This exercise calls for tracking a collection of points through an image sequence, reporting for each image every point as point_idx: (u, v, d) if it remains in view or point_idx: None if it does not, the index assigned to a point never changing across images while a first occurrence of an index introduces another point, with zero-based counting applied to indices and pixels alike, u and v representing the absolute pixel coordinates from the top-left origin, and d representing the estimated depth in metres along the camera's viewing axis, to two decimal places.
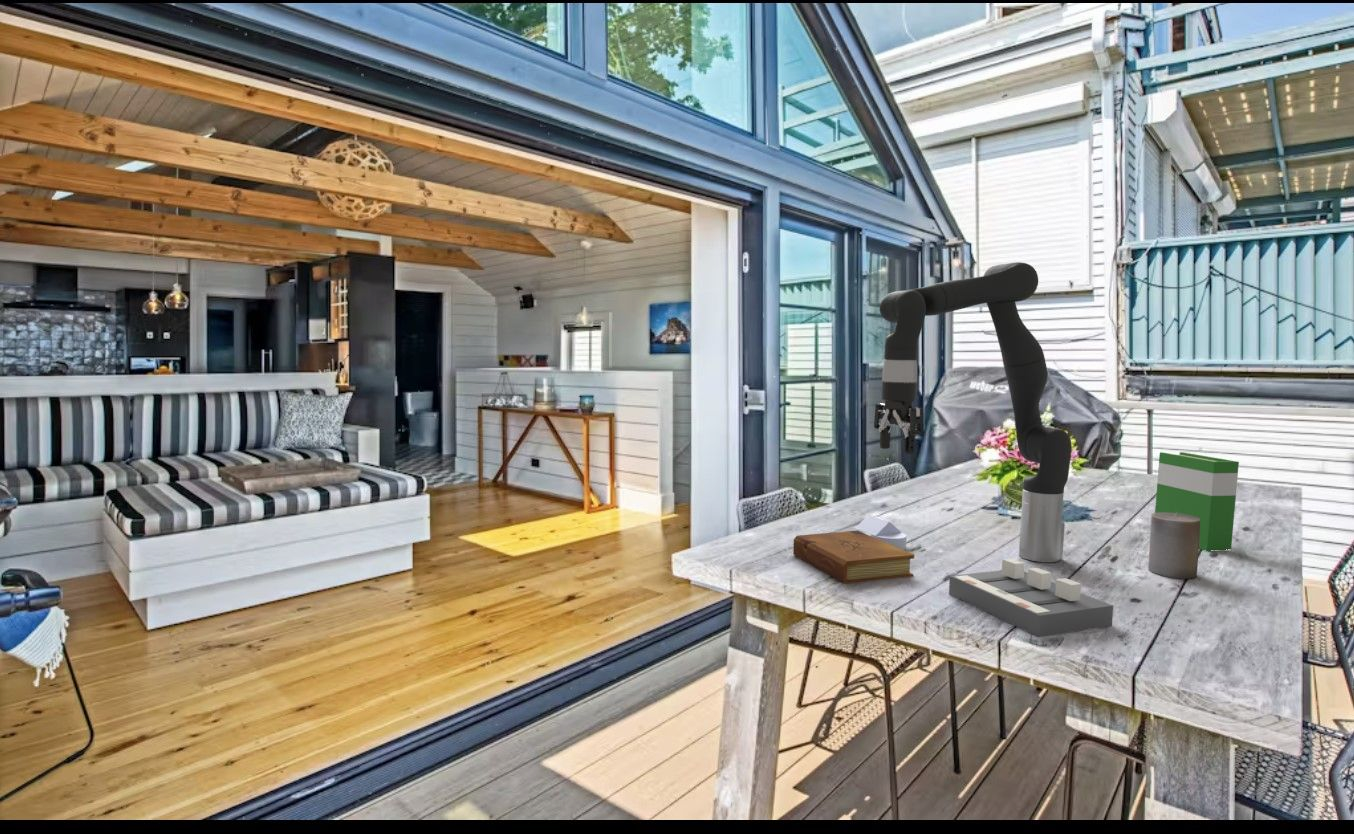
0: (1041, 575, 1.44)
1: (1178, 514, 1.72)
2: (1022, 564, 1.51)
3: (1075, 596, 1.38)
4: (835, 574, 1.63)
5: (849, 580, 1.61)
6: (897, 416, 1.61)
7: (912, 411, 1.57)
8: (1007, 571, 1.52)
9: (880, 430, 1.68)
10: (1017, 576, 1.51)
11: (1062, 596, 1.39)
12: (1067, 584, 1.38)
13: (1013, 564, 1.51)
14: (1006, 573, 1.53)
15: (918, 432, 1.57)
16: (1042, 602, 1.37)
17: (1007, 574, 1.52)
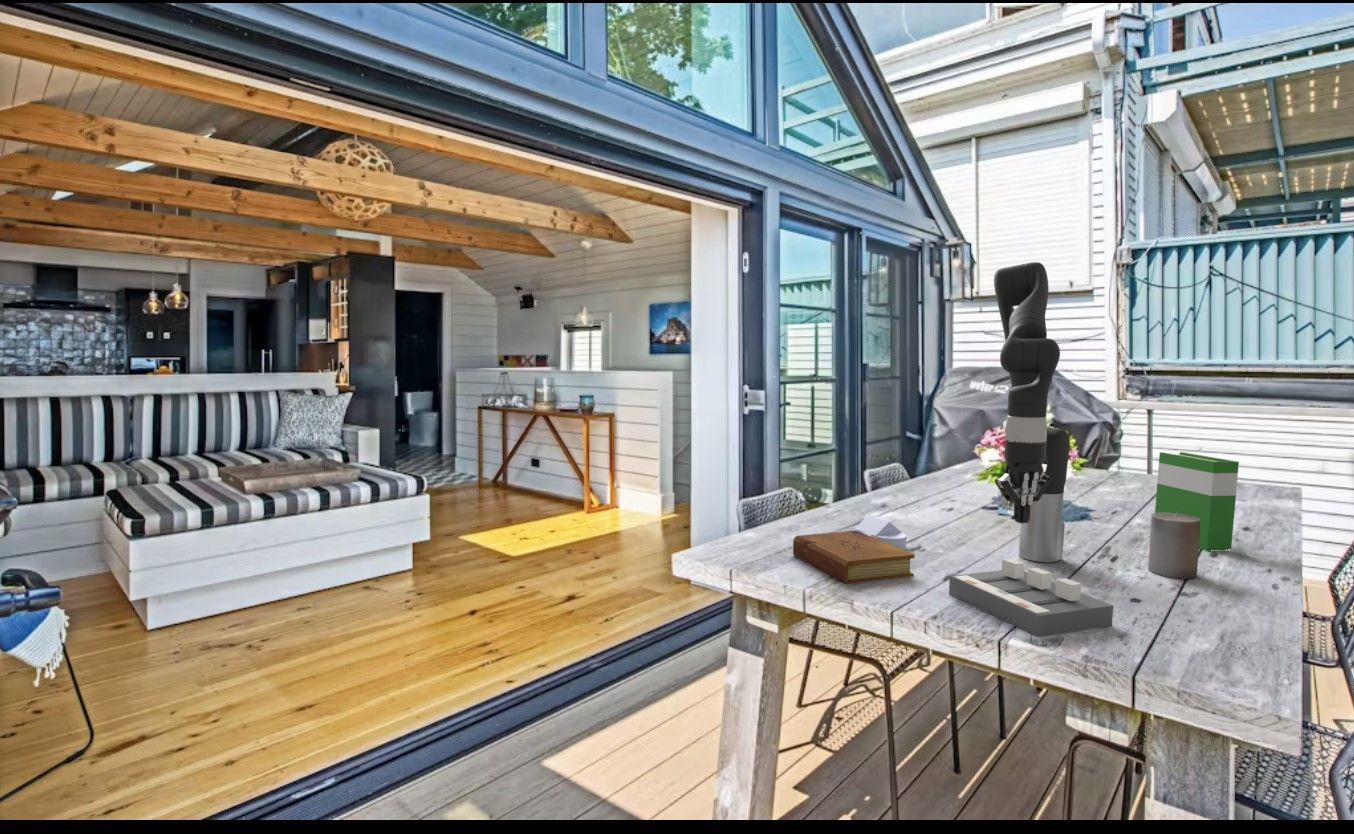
0: (1041, 575, 1.44)
1: (1178, 514, 1.72)
2: (1022, 564, 1.51)
3: (1075, 596, 1.38)
4: (836, 574, 1.63)
5: (850, 580, 1.61)
6: (1035, 480, 1.44)
7: (1050, 480, 1.46)
8: (1007, 571, 1.52)
9: (1025, 502, 1.45)
10: (1017, 576, 1.51)
11: (1062, 596, 1.39)
12: (1067, 584, 1.38)
13: (1013, 564, 1.51)
14: (1006, 573, 1.53)
15: None
16: (1042, 602, 1.37)
17: (1007, 574, 1.52)
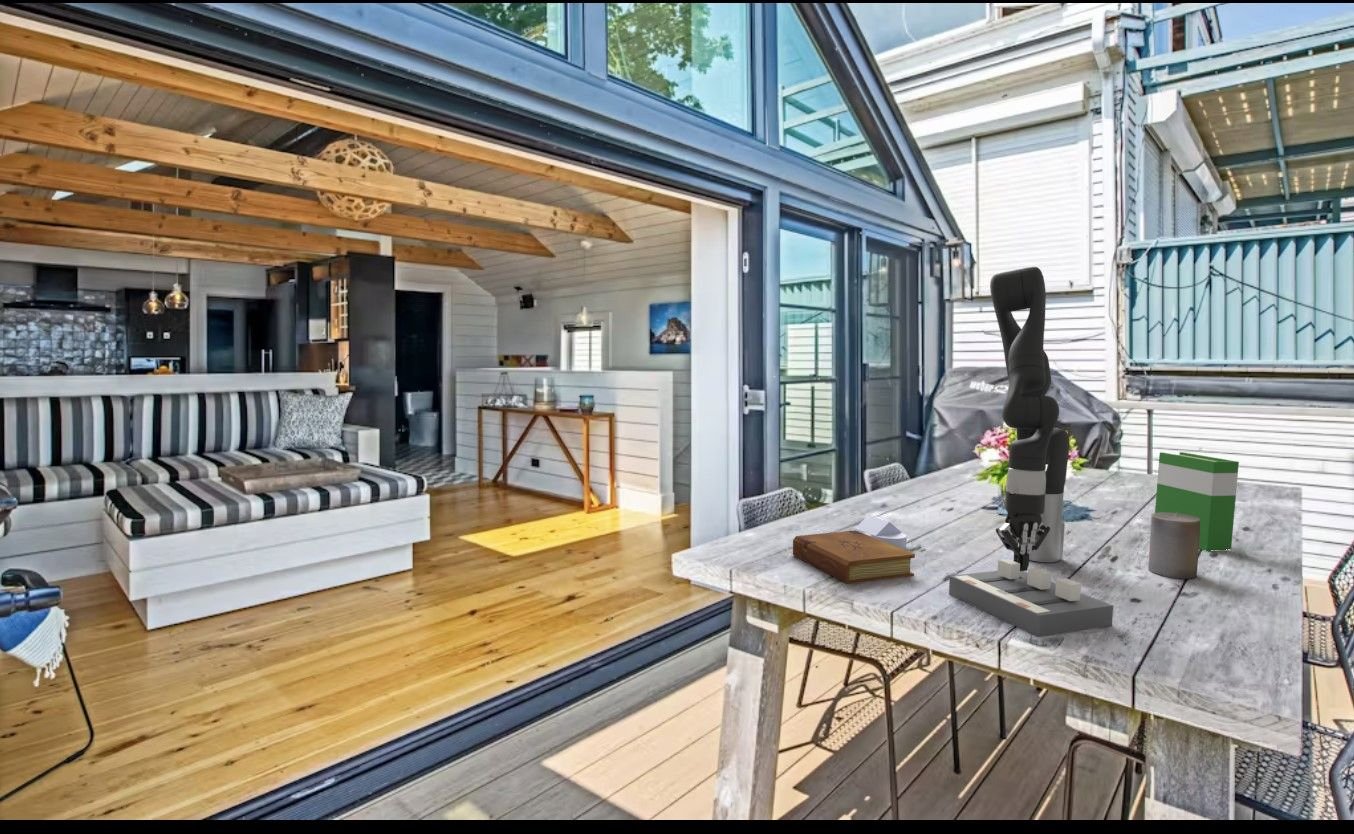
0: (1041, 575, 1.44)
1: (1178, 514, 1.72)
2: (1018, 564, 1.51)
3: (1075, 596, 1.38)
4: (836, 575, 1.63)
5: (851, 580, 1.61)
6: (1034, 530, 1.51)
7: (1048, 530, 1.53)
8: (1003, 572, 1.52)
9: (1024, 551, 1.51)
10: (1013, 576, 1.50)
11: (1062, 596, 1.39)
12: (1067, 584, 1.38)
13: (1008, 564, 1.50)
14: (1002, 573, 1.52)
15: None
16: (1042, 602, 1.37)
17: (1003, 574, 1.52)
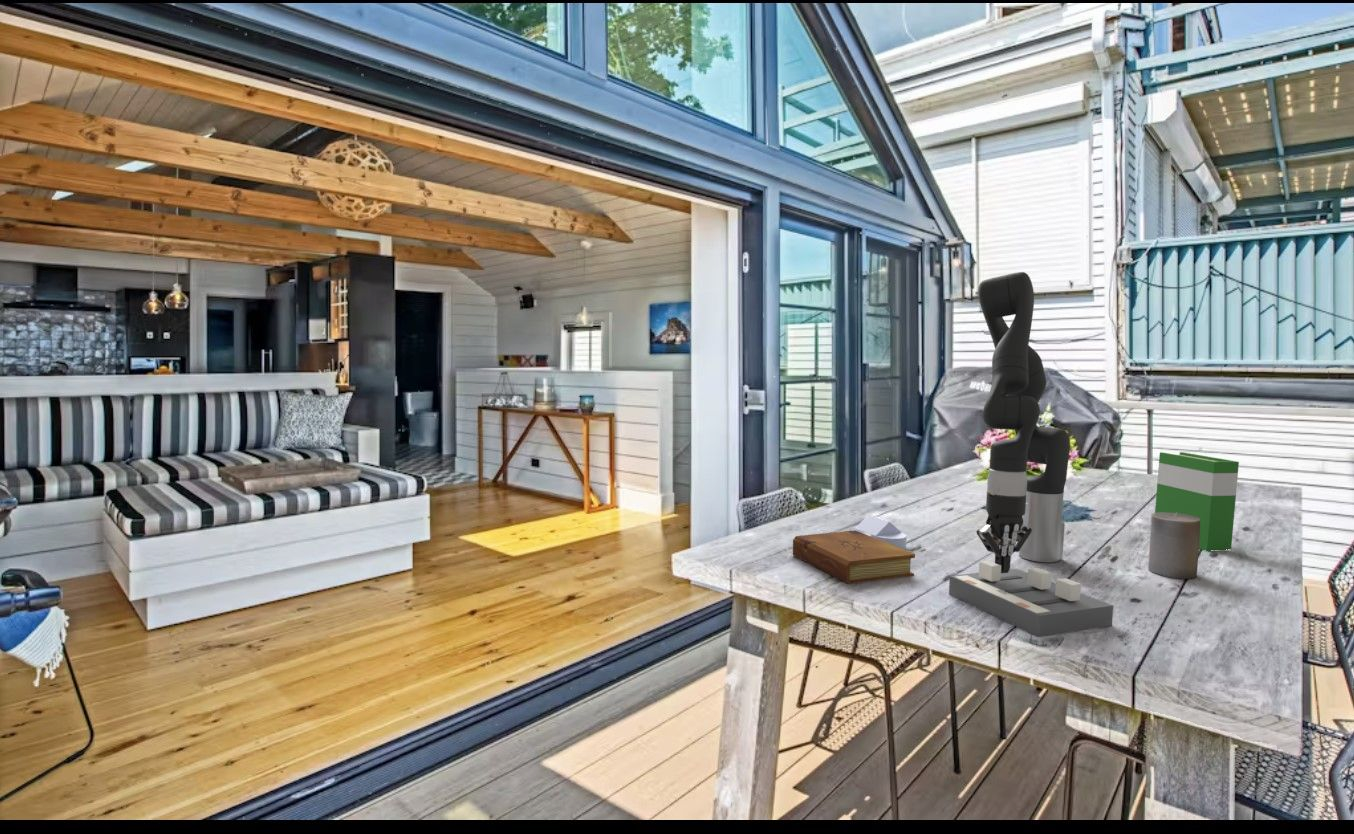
0: (1041, 575, 1.44)
1: (1178, 514, 1.72)
2: (999, 566, 1.49)
3: (1075, 596, 1.38)
4: (837, 574, 1.63)
5: (852, 580, 1.61)
6: (1015, 532, 1.49)
7: (1030, 532, 1.51)
8: (984, 574, 1.50)
9: (1005, 553, 1.50)
10: (994, 578, 1.49)
11: (1062, 596, 1.39)
12: (1067, 584, 1.38)
13: (989, 566, 1.49)
14: (983, 575, 1.51)
15: None
16: (1042, 602, 1.37)
17: (984, 577, 1.50)
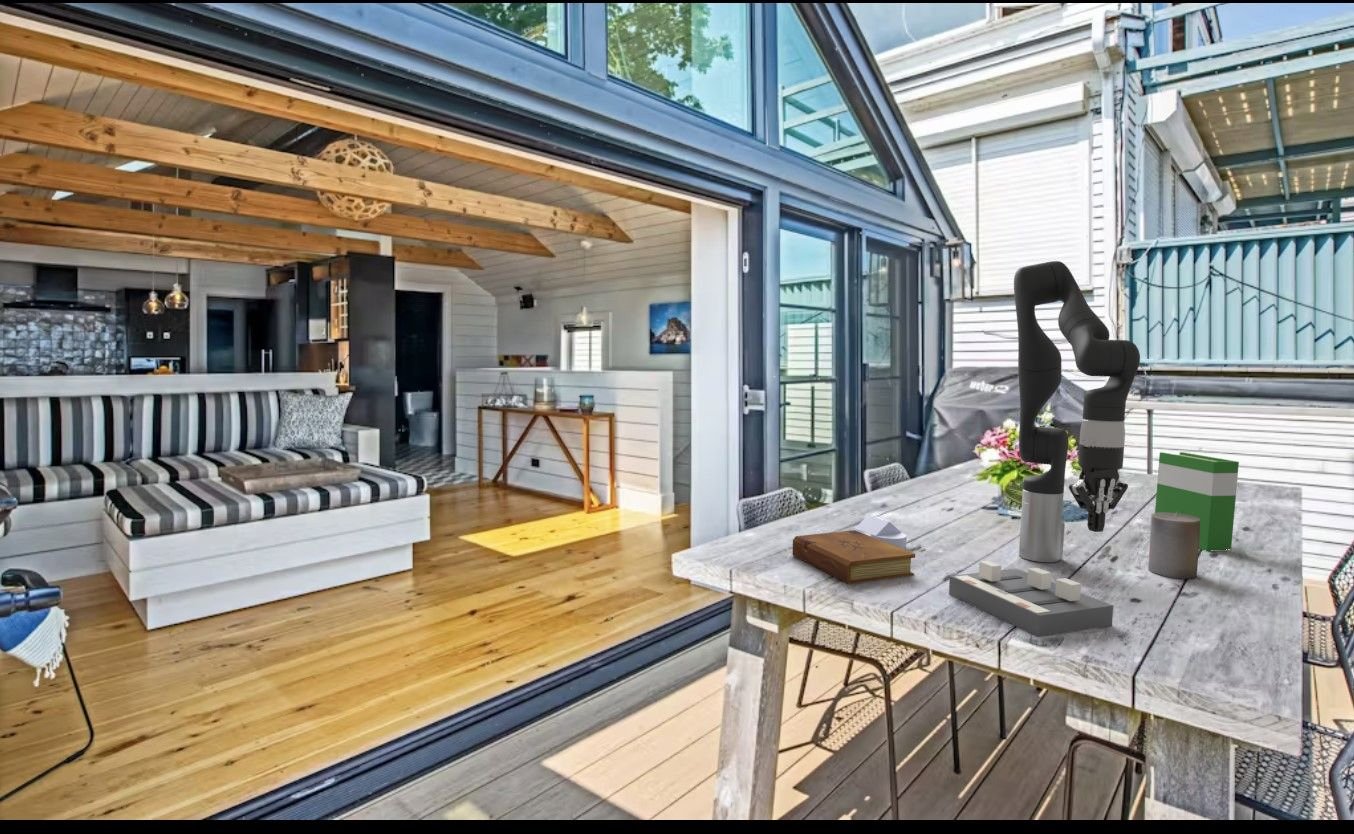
0: (1041, 575, 1.44)
1: (1178, 514, 1.72)
2: (999, 566, 1.49)
3: (1075, 596, 1.38)
4: (838, 575, 1.63)
5: (852, 580, 1.61)
6: (1111, 487, 1.39)
7: (1126, 488, 1.41)
8: (984, 574, 1.50)
9: (1100, 510, 1.39)
10: (994, 578, 1.49)
11: (1062, 596, 1.39)
12: (1067, 584, 1.38)
13: (990, 566, 1.49)
14: (983, 575, 1.51)
15: None
16: (1042, 602, 1.37)
17: (984, 577, 1.50)
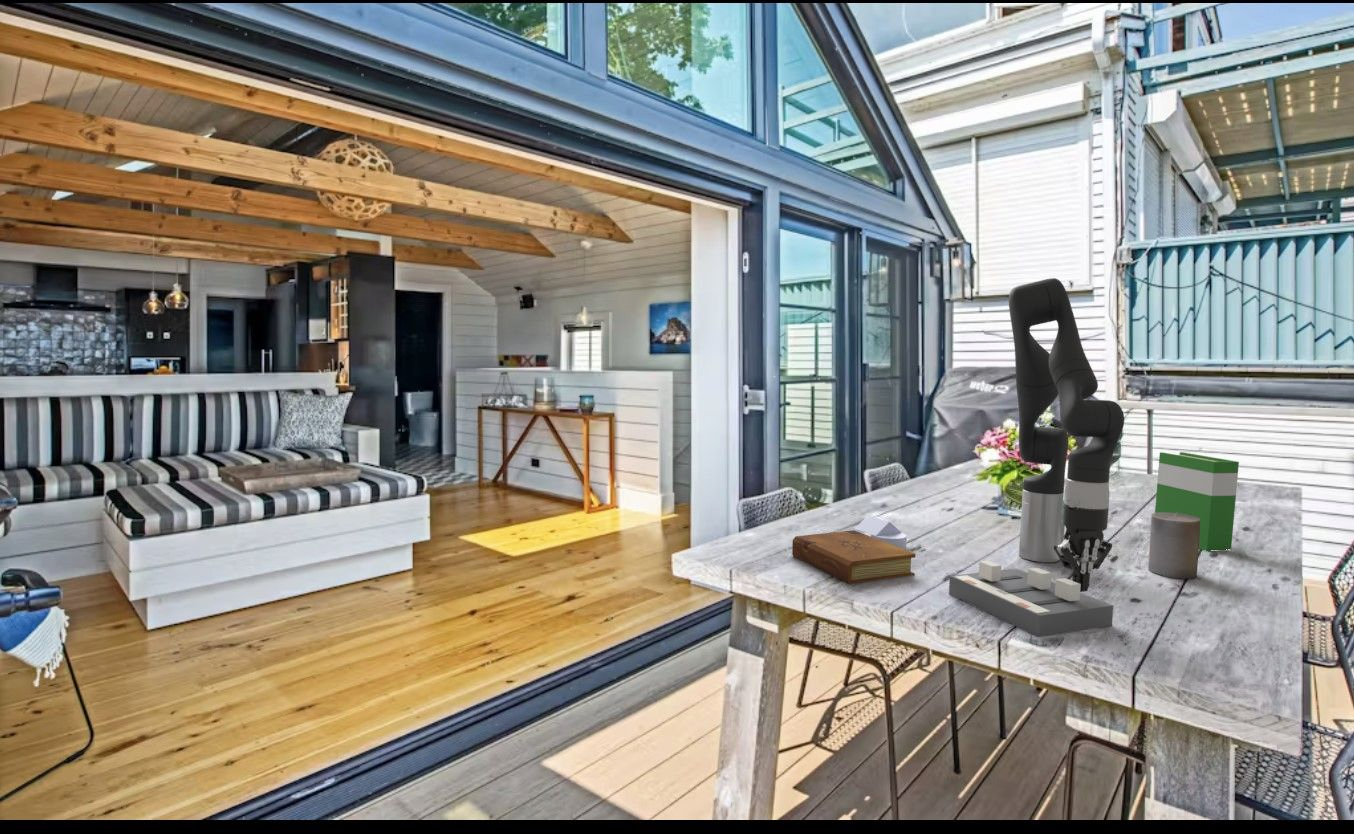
0: (1041, 575, 1.44)
1: (1178, 514, 1.72)
2: (999, 566, 1.49)
3: (1075, 596, 1.38)
4: (838, 575, 1.63)
5: (853, 580, 1.61)
6: (1096, 547, 1.38)
7: (1110, 547, 1.40)
8: (984, 574, 1.50)
9: (1084, 570, 1.38)
10: (994, 578, 1.49)
11: (1062, 596, 1.39)
12: (1067, 584, 1.38)
13: (990, 566, 1.49)
14: (983, 575, 1.51)
15: None
16: (1042, 602, 1.37)
17: (984, 577, 1.50)
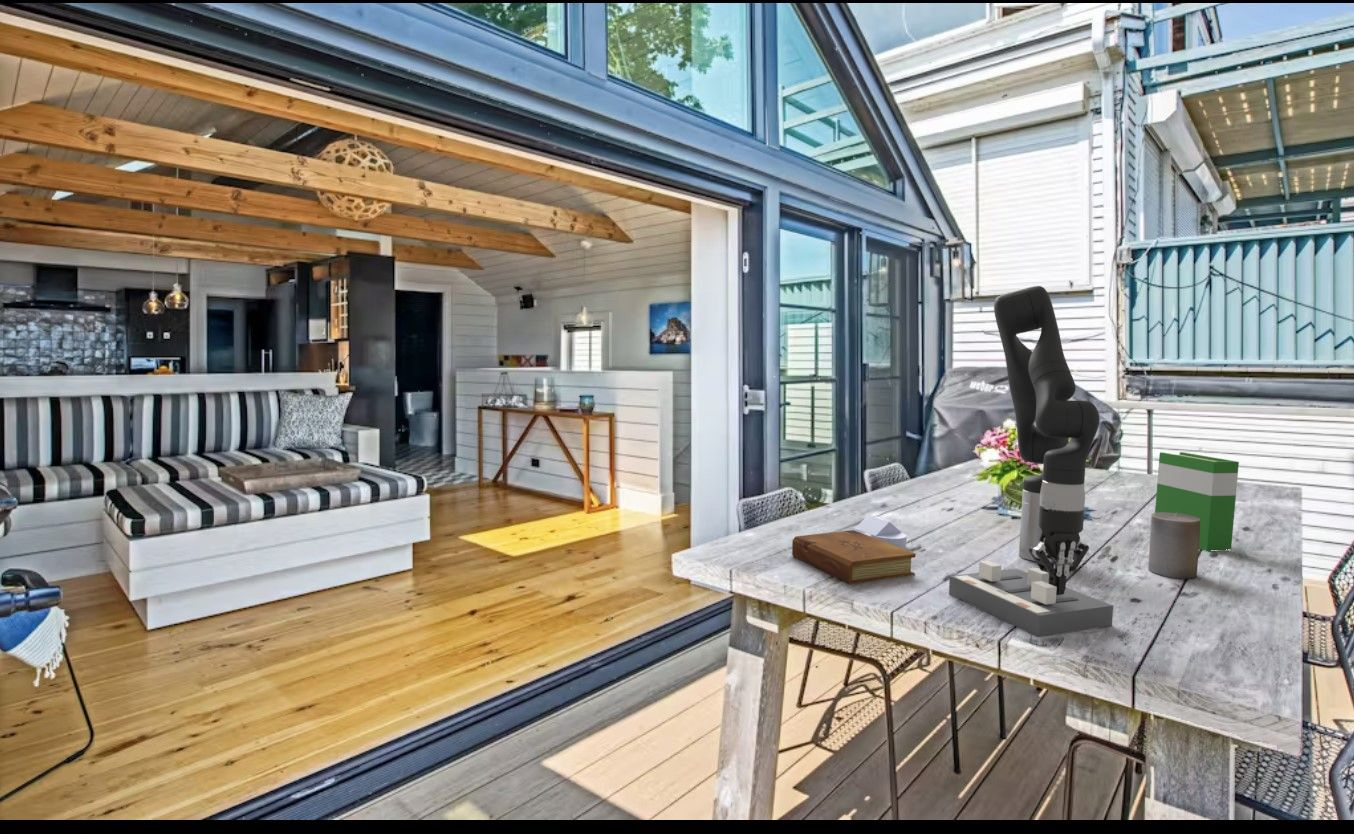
0: (1041, 575, 1.44)
1: (1178, 514, 1.72)
2: (999, 566, 1.49)
3: (1050, 599, 1.36)
4: (839, 575, 1.63)
5: (854, 580, 1.61)
6: (1072, 550, 1.36)
7: (1087, 549, 1.38)
8: (984, 574, 1.50)
9: (1060, 573, 1.36)
10: (994, 578, 1.49)
11: (1038, 599, 1.37)
12: (1042, 587, 1.36)
13: (990, 566, 1.49)
14: (983, 575, 1.51)
15: None
16: None
17: (984, 577, 1.50)
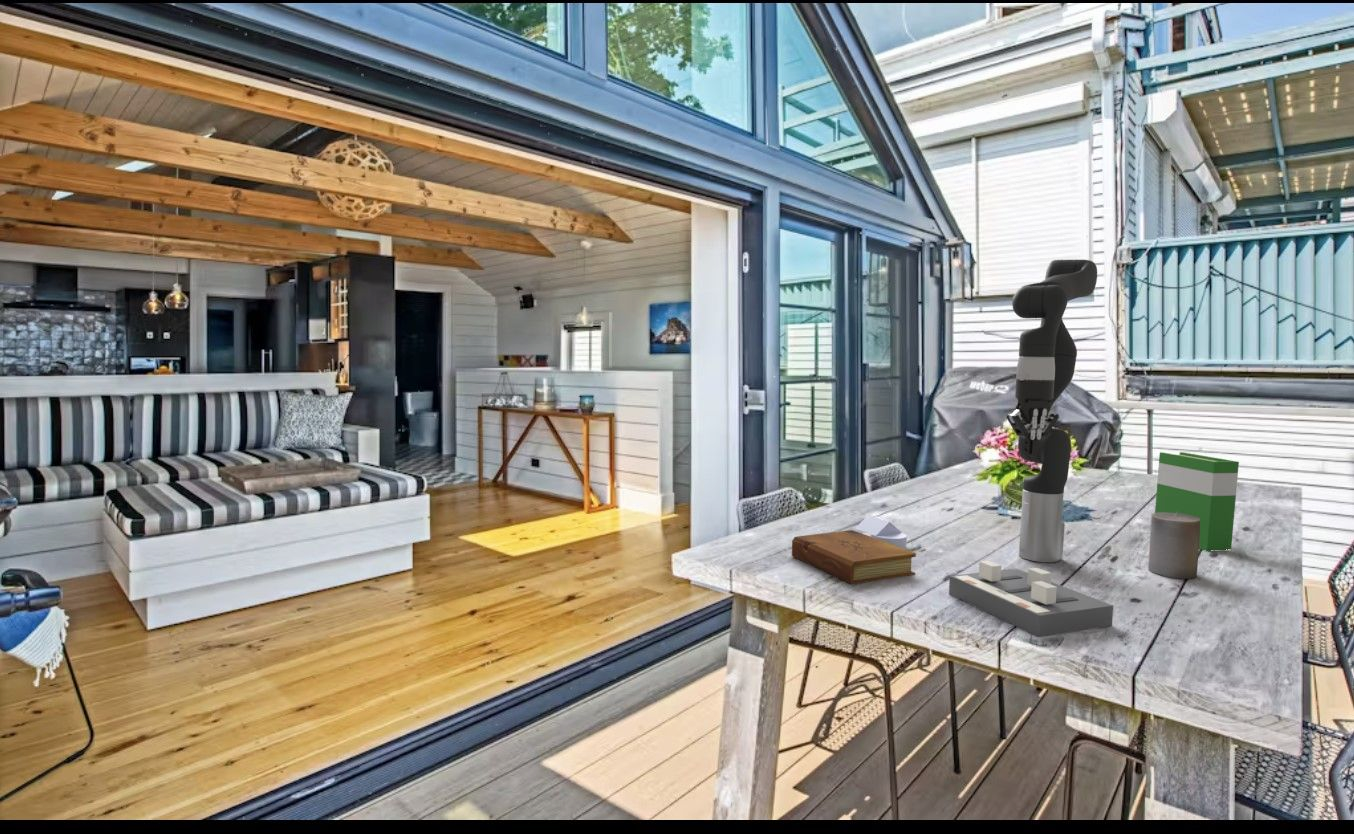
0: (1041, 575, 1.44)
1: (1178, 514, 1.72)
2: (999, 566, 1.49)
3: (1050, 599, 1.36)
4: (840, 575, 1.62)
5: (855, 581, 1.60)
6: (1044, 416, 1.57)
7: (1057, 418, 1.59)
8: (984, 574, 1.50)
9: (1034, 437, 1.57)
10: (994, 578, 1.49)
11: (1038, 599, 1.37)
12: (1042, 587, 1.36)
13: (990, 566, 1.49)
14: (983, 575, 1.51)
15: None
16: None
17: (984, 577, 1.50)
